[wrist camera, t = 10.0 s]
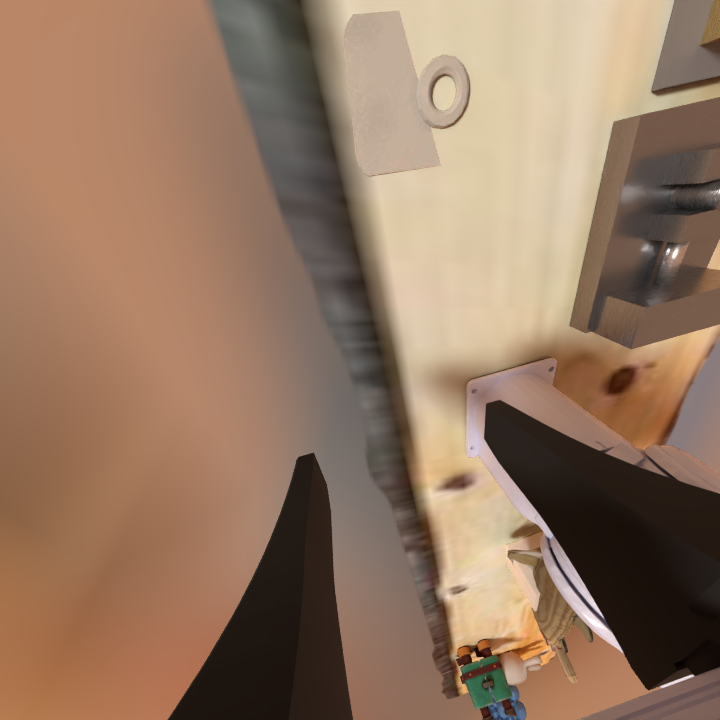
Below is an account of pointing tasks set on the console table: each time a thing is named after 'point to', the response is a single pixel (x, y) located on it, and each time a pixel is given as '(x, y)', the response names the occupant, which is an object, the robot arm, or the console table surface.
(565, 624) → the wood carving
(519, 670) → the bunny figurine
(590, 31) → the console table surface
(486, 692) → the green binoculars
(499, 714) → the grapes
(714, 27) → the wooden hollow block
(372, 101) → the mounting bracket
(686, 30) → the rubber mat
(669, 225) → the gray fixture base
